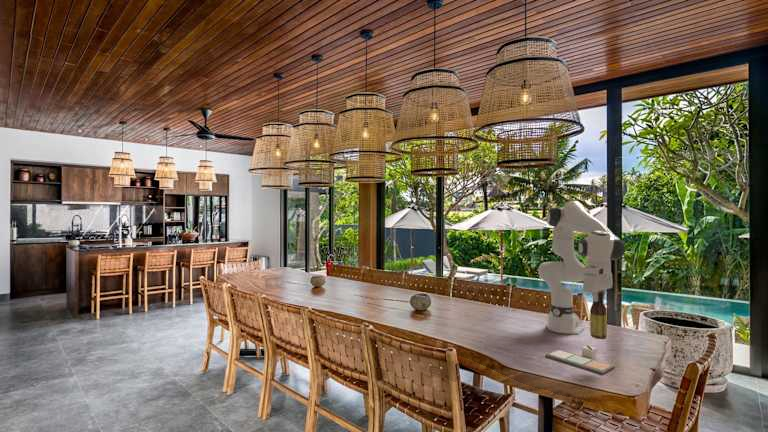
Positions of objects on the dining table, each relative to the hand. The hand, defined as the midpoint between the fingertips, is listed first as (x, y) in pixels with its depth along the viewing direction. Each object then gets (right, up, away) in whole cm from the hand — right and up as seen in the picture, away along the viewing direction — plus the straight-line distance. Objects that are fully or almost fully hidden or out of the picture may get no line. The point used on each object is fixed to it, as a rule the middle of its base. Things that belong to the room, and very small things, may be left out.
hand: (598, 300), depth 167 cm
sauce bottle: (0, -16, 0) cm, 16 cm away
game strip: (-5, -29, +6) cm, 30 cm away
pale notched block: (+3, -29, +13) cm, 32 cm away
